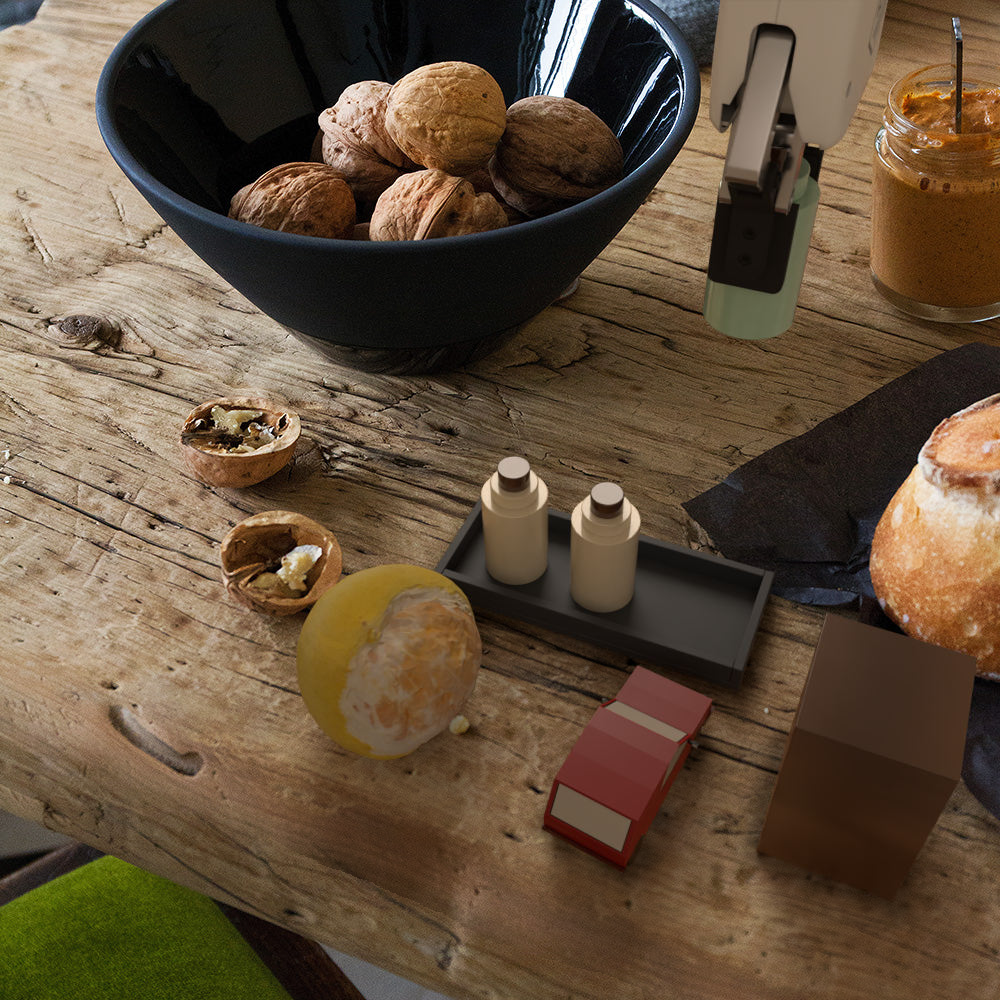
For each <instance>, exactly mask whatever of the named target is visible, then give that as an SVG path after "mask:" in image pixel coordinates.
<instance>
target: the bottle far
mask: <svg viewBox="0 0 1000 1000" xmlns="http://www.w3.org/2000/svg"><path fill="white" fill-rule="evenodd" d="M496 469H497V470H496V471H495V472H494V473H493V474H492V475H491V477H489V479H487V480H486V481H485V483H483V486H482V488H481V489H480V497H481V505H482V521H483V537H484V553H485V565H486V568H487V571H488V572H489V574H490V575H491V576H492V577H493V578H495V579H496V580H498V581H500V582H502V583H505V584H510V585H522V584H527V583H530V582H533V581H535V580H536V579H538V578H539V577H540V576H541V575H542V574H543V573H544V572H545V570H546V568H547V565H548V508H549V490H548V487H547V484H546V483H545V482H544V480H543V479H542V478H541V477H540V476H539V475H538V476H537V474H536V473H535V472H534V471H533V470H532V469H531V465H530V463H529V461H528V460H527V459H525V458H524V457H521V456H507V457H505V458H503V459H501V460H500V461H499V463H498V464H497V466H496Z"/></svg>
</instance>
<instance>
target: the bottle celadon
mask: <svg viewBox="0 0 1000 1000" xmlns="http://www.w3.org/2000/svg"><path fill="white" fill-rule="evenodd" d="M786 150H787V148H781V147H775V146H772V147H771V154H770V157H771V162H777V163H779V167H780V172H782V169H783V164H784V159H785V155H786ZM809 175H810V165H809V163H808V162H807V160H806V159H804V158H803V157H802V162H801V166H800V171H799V175H798V180H797V185H796V189H795V194H794V198H793V202H792V203H796V204H800V206H799V211H798V216H797V221H796V226H795V231H794V236H793V241H792V246H791V251H790V256H789V261H788V267H787V272H786V277H785V282H784V284H783V286H782V289H781V291H780V292H779V293H777V294H769V293H764V292H759V291H754V290H749V289H745V288H740V287H735V286H730V285H725V284H720V283H716V282H713V281H711V280H710V279H709V278H708V275H707V274H706V278H705V280H706V281H705V287H704V293H703V301H702V307H701V308H702V309H701V311H702V315H703V318H704V320H705V321H706V323H707V324H708V325H709V326H710V327H711V328H712V329H714V330H715V331H717V332H719V333H721V334H723V335H725V336H728V337H730V338H734V339H739V340H744V341H745V340H747V341H761V340H762V341H763V340H767V339H768V340H769V339H772V338H775V337H779V336H781V335H783V334H784V333H786V332H787V331H788V330H789V329H790V328H791V326H793V323H794V320H795V316H796V311H797V307H798V303H799V298H800V294H801V293H800V292H801V288H802V283H803V279H804V274H805V270H806V266H807V260H808V255H809V251H810V245H811V241H812V237H813V232H814V227H815V223H816V216H817V213H818V208H819V203H820V198H821V195H822V194H821V193H822V192H821V191H822V190H821V187H820V186H819V182H818V183H817V182H816V181H815V180H814V179H813V178H812V177H810V176H809ZM721 181H722V178H721V179H720V181H719V182H718V190H717V198H718V194H719V193H720V187H721ZM717 198H716V199H717ZM716 205H717V203H716ZM716 205H715V206H716ZM715 212H716V210H715ZM715 212H714V213H715ZM714 220H715V218H714V219H713V221H714ZM713 227H714V225H713ZM713 227H712V228H713ZM712 234H713V232H712ZM711 242H712V240H711ZM711 242H710V243H711ZM710 249H711V247H710ZM710 249H709V250H710ZM709 257H710V255H709V256H708V258H709ZM707 263H708V264H709V262H707ZM708 264H707V265H708ZM707 271H708V269H707ZM707 271H706V272H707Z"/></svg>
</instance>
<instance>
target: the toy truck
mask: <svg viewBox="0 0 1000 1000" xmlns="http://www.w3.org/2000/svg"><path fill="white" fill-rule="evenodd" d="M615 695H616V696H615V697H613V698H611V699H610V700H609V699H608V698H605V697H603V698H602V699H601V705H599V706H598V707H597V709H596V710H595V712H594V714H593V715H592V717H591V718H590V720H589V721H588V723H587V725H586V726H585V727H584V730H583V731H582V732H581V734H580V735H579V738H577V740H576V742H575V744H574V745H573V747H572V749H571V750H570V752H569V753H568V755H567V756H566V759H565V760H564V761H563V763H562V765H561V766H560V767H559V770H558V771H557V773H556V775H555V777H554V779H553V781H552V785H551V789H550V793H549V796H548V799H547V803H546V806H545V810H544V812H543V823H542V824H541V830H542V831H544V832H546V833H548V834H550V835H551V836H553V837H555V838H557V839H559V840H561V841H562V842H564V843H566V844H567V845H570V846H572V847H574V848H575V849H577V850H579V851H581V852H582V853H585V854H586V855H588V856H590V857H592V858H593V859H596V860H597V861H599V862H601V863H603V864H604V865H607V866H609V867H610V868H612V869H614V870H616V871H618V872H619V873H621V874H623V875H624V874H625V872H626V869H627V867H628V868H630V867H631V866H632V864H633V863H634V861H635V859H636V858H637V855H638V853H639V850H640V848H641V846H642V843H643V840H644V836H646V834H647V832H648V830H649V829H650V827H651V825H652V823H653V821H654V819H655V817H656V815H657V814H658V812H659V810H660V808H661V806H662V804H663V802H664V801H665V799H666V797H667V795H668V793H669V791H670V790H671V788H672V786H673V784H674V782H675V779H676V778H677V777H678V775H679V773H680V771H681V769H682V768H683V766H684V763H685V761H686V760H687V758H688V756H690V755H691V753H692V752H693V751H694V750H695V749H699V746H700V742H698V740H699V738H700V736H701V732H702V729H703V727H705V725H706V724H707V722H708V721H709V719H710V717H711V716H712V715H713V713H714V711H715V710H716V707H714V706H713V700H714V699H712V697H711V696H710V695H709V694H706V693H700V692H697V691H695V690H693V689H691V688H689V687H686V686H684V685H682V684H680V683H678V682H676V681H673V680H671V679H668V678H667V677H664V676H662V675H660V674H658V673H655V672H654V671H652V670H649V669H648V668H647V666H645V665H641V666H640V665H636V667H635V668H634V670H633V671H632V673H631V674H630V676H629V677H628V679H627V680H626V681H625V683H624V684H623V685H622V687H621V689H619V691H618V692H617V694H615Z"/></svg>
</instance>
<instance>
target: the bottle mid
mask: <svg viewBox="0 0 1000 1000" xmlns="http://www.w3.org/2000/svg"><path fill="white" fill-rule="evenodd" d="M571 514H572V515H571V540H570V578H569V589H570V593H571V595H572V597H573V599H574V600H575V601H576V602H577V603H578V604H579V605H580V606H582V607H583V608H585V609H587V610H590V611H594V612H601V613H605V612H612V611H616V610H619V609H621V608H622V607H624V606H625V605H627V604H628V603H629V601H630V600H631V599H632V597H633V594H634V588H635V578H636V567H637V557H638V546H639V536H640V534H641V524H642V520H641V516H640V513H639V511H638V509H637V508H636V507H635V505H633V504H632V503H631V502H630V500H629V499H628V498H627V497H626V496H625V491H624V489H623V488H622V487H621V486H620V485H619V484H617V483H614V482H610V481H604V482H603V481H602V482H599V483H596V484H595V485H594V486H593V487H592V488H591V490H590V493H589V494H588V495H587V496H586V497H585V498H584V499H583V500H582V501H580V502H579V503H578V504H577V505H576V506H575V507H574V508H573V510H572V512H571Z"/></svg>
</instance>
